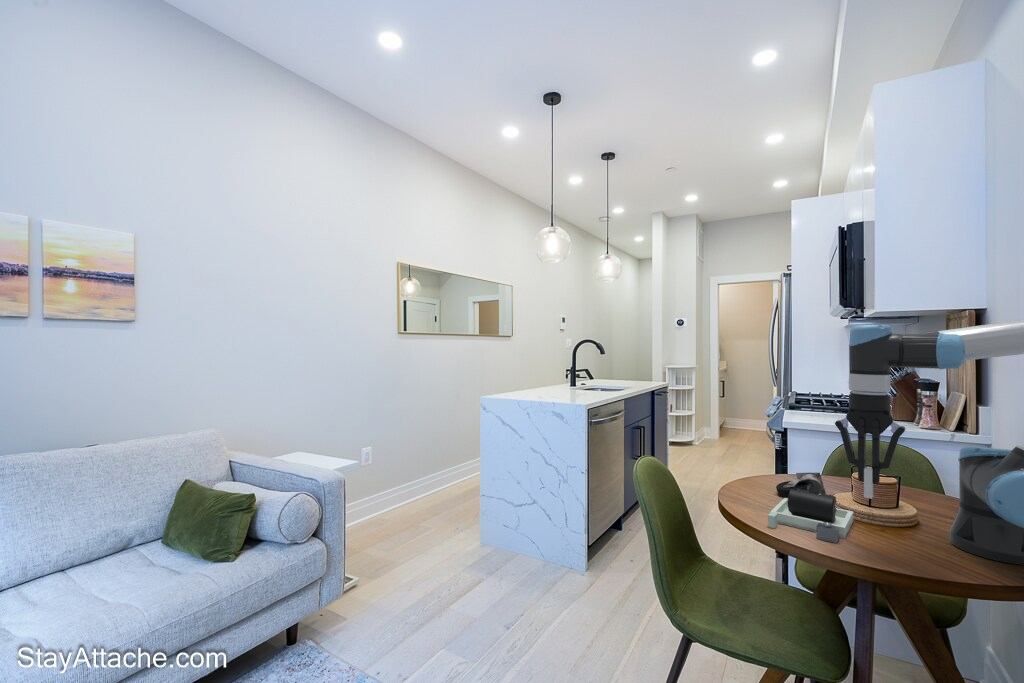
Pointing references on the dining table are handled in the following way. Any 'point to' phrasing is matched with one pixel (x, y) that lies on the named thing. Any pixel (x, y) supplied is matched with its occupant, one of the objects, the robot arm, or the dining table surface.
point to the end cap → (812, 505)
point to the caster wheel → (802, 484)
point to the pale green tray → (786, 518)
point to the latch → (827, 532)
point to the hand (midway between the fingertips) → (868, 496)
